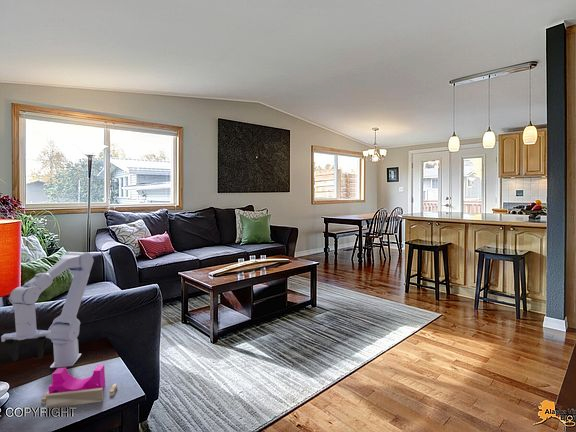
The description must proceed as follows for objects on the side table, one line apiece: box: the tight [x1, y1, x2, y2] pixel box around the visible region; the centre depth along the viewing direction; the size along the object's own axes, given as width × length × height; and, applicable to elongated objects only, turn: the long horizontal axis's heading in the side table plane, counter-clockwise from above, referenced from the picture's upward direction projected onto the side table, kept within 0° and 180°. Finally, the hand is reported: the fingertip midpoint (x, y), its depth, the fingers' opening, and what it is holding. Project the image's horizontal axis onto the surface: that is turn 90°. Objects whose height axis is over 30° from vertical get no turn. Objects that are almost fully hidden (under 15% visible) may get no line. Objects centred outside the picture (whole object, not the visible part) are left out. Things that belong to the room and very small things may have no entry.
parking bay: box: [40, 383, 118, 409], centre depth 114 cm, size 7×21×4 cm, turn 102°
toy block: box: [48, 364, 106, 394], centre depth 117 cm, size 15×6×8 cm, turn 98°
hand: (28, 358), depth 121 cm, fingers open, 7 cm apart
